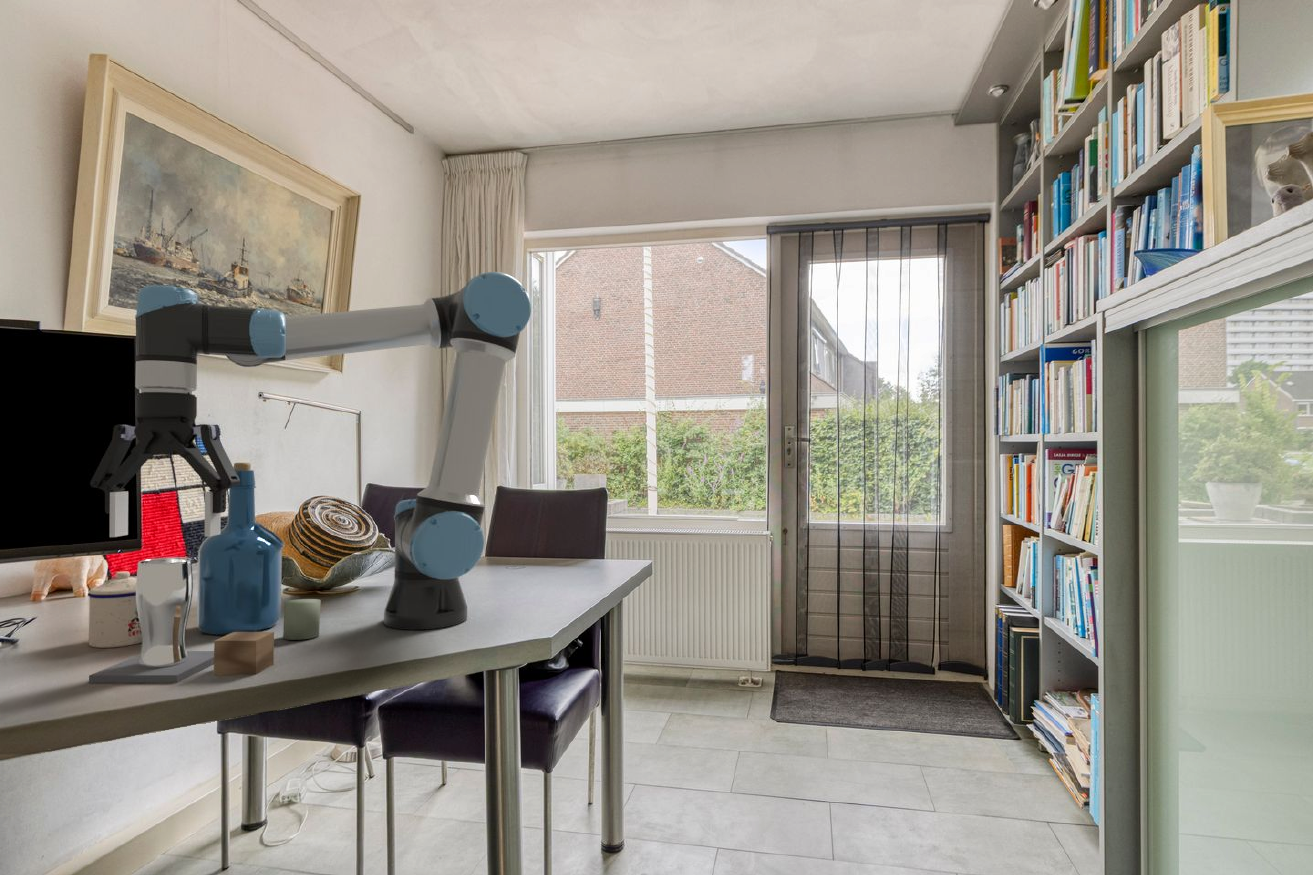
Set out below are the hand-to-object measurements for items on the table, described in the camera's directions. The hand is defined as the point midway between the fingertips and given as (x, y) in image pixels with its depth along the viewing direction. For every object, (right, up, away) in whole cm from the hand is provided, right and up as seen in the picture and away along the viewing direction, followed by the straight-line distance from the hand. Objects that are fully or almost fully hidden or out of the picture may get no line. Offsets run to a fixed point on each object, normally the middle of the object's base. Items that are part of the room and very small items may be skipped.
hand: (165, 536), depth 106 cm
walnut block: (+12, -20, 0) cm, 23 cm away
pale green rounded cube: (+11, -20, +18) cm, 29 cm away
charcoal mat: (0, -20, 0) cm, 20 cm away
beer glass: (0, -19, 0) cm, 19 cm away
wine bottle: (-3, -20, +24) cm, 32 cm away
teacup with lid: (-18, -20, +16) cm, 31 cm away
